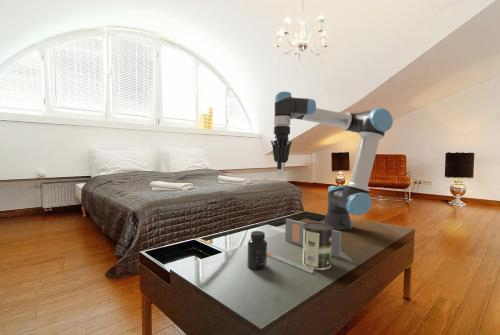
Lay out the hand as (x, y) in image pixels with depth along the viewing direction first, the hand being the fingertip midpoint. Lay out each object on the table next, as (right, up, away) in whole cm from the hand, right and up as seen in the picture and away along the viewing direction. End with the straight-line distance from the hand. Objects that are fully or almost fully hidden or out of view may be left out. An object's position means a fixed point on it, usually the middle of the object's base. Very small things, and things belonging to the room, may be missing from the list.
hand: (280, 176), depth 121 cm
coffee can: (+10, -31, -28) cm, 43 cm away
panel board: (+11, -30, -12) cm, 34 cm away
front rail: (-2, -31, -26) cm, 40 cm away
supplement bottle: (-12, -31, -31) cm, 45 cm away
